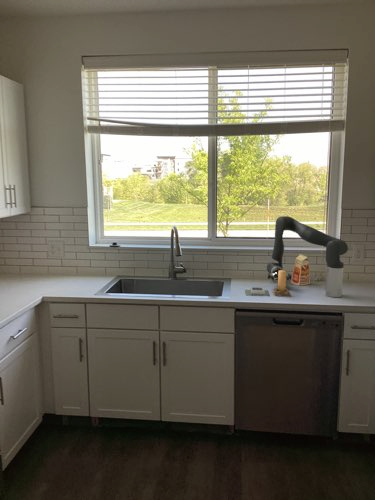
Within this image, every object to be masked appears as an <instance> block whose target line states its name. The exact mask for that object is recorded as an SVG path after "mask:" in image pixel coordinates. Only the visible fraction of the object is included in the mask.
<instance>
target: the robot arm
mask: <svg viewBox="0 0 375 500" xmlns="http://www.w3.org/2000/svg"><path fill="white" fill-rule="evenodd" d="M284 231H290V232H293V233H296V235H298V236H299V237H300V239H302V240H303V241H305V242H306V243H307V242H308V243H309V244H311V245H316V246H321V247H325V263H326V276H325V277H326V279H325V294H324V295H325V296H327V297H331V298H342V297H343V281H344V268H345V267H344V266H345V265H344V262H342V261H341V256H343V255H345V254H346V253H347V252H348V250H349V246H348V243H347V242H346V241H344V240H343V239H340V238H337V237H334V236H331V235H328V234H327V233H325V232H323V231H320V230H318V229H316V228H314V227H312V226H309V225H307V224H304V223H302V222H300V221H298V220H296V219H295V218H293V217H291V216H288V215H284V216H283V215H282V216H279V217H277V218H276V219H275V227H274V245H273V250H272V254H271V259H272V260H274V261H276V262H273V261H269V262H268V263H267V265H266V271H267V272H268V273H267V280H269V279H271V280H272V281H275V280H276V281H278V271H279V270H283V268H284V267H283V256H284V252H285V244H284V241H283V240H284V239H283V236H284ZM292 275H293V274H291V273H289V272H288V273H287V274H286V282H287V281H290V280H292Z"/></svg>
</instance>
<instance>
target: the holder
mask: <svg viewBox="0 0 375 500" xmlns="http://www.w3.org/2000/svg"><path fill="white" fill-rule="evenodd" d="M271 293H272V296H273V297H279V298H280V297H282V298H283V297H284V298H288V297H289V298H291V297H292V296H291V293H290V290H289V289H288V288H285V292H284V291H278V287H276V288H275V287H274V288H273V291H271Z"/></svg>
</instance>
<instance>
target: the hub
mask: <svg viewBox="0 0 375 500" xmlns="http://www.w3.org/2000/svg"><path fill="white" fill-rule="evenodd" d="M249 288H250V289H244V293H245V296H246V297H247V296H248V297H271V294H270V292H269V290H268V289H267V290H266V289H265V288H264V287H263V286H261V287H259V286H257V287H256V286H250V287H249Z"/></svg>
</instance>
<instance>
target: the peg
mask: <svg viewBox="0 0 375 500" xmlns="http://www.w3.org/2000/svg"><path fill="white" fill-rule="evenodd" d="M286 275H287V271H286V270H279V271H278V280H277V288H278V291H284V292H285V289H286V285H287V284H286V283H287V280H286Z"/></svg>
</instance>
